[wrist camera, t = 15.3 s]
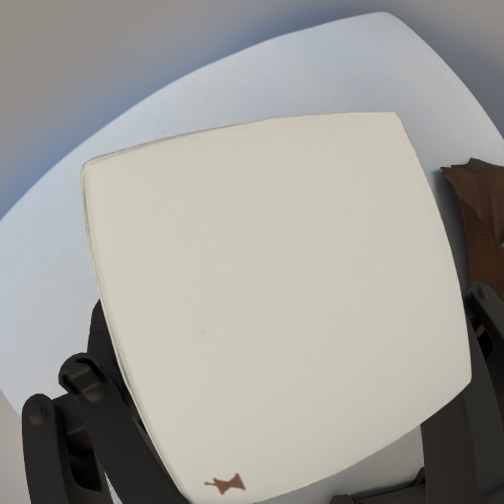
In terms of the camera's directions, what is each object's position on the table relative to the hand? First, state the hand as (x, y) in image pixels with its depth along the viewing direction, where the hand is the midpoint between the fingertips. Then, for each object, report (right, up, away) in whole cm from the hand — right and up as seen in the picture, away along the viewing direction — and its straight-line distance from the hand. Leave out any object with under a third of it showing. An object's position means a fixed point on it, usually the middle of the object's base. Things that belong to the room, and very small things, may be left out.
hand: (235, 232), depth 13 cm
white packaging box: (0, -4, +4) cm, 6 cm away
